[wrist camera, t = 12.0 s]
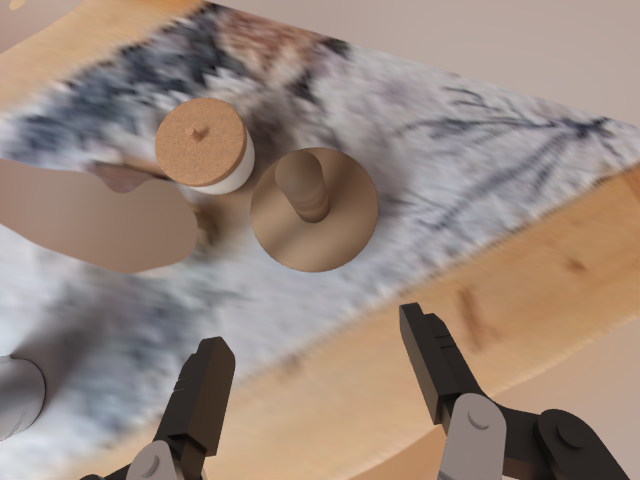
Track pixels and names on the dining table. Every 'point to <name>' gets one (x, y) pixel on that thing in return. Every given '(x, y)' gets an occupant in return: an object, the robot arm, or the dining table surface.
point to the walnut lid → (314, 209)
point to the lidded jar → (205, 146)
